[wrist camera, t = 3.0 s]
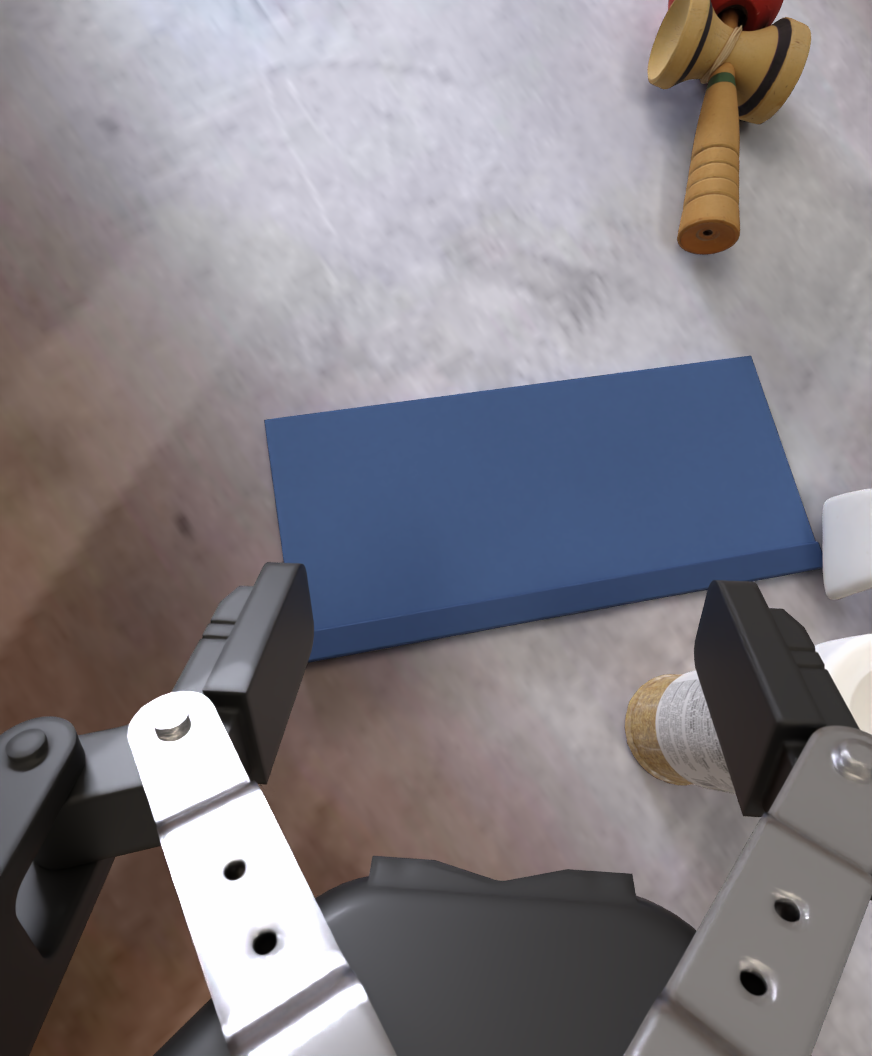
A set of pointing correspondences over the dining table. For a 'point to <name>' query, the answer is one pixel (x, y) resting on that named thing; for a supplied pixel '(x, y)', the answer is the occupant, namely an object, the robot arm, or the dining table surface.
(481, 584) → the blue flat rectangular slab
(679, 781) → the spice jar
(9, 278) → the dining table surface
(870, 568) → the spoon rest
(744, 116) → the kendama
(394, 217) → the dining table surface
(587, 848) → the dining table surface
